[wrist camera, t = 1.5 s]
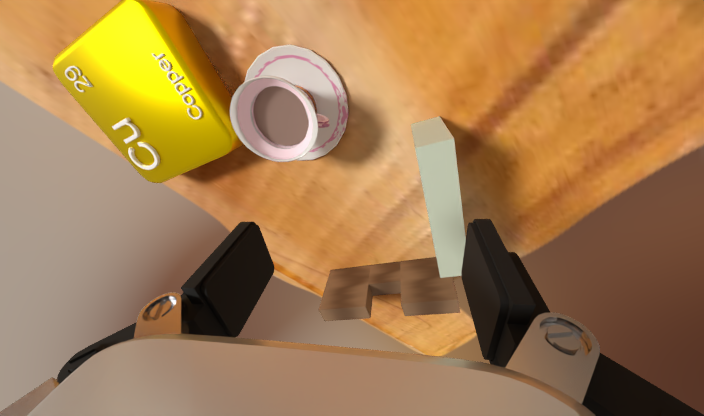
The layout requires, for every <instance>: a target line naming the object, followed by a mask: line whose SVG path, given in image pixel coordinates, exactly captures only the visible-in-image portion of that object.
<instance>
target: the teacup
mask: <svg viewBox="0 0 704 416" xmlns="http://www.w3.org/2000/svg"><path fill="white" fill-rule="evenodd" d="M295 85H297V86H301V87H303V88H304V89H306V90H307V91H308V92H309V93H310V94H311V95H312V96H313V98H314V101H315V103H316V108H317V113H315V108H314V105H313V102H312V100H311V99H310V97H309V96H308V95H307V94H306V93H305V92H304V91H303V90H301V89H300V88H298V87H296V86H295ZM348 114H349V112H348V102H347V94H346V92H345V89H344V87H343V85H342V82H341V80H340V77H339V76H338V74H337V73H336V72H335V71H334V69H333V68H332V67H331V66H330V64H329V63H328V62H327V61H326V60H325V59H323V58H322V57H320V56H319V55H317V54H316V53H314V52H313V51H311V50H310V49H306V48H302V47H298V46H294V45H285V46H278V47H272V48H271V49H269V50H267V51H266V52H264V53H262V54H261V55H259V56H258V57H257V58H256V60H255V61H254V62H253V64H252V65H251V66H250V68H249V69H248V71H247V75H246V78H245V82H244V83H243V84H242V85H240V86H239V88H238V89H237V90H236V92H235V93H234V95H233V97H232V100H231V104H230V119H231V123H232V126H233V128H234V131H235V132H236V134H237V136H238V137H239V139H240V140H241V141H242V142H243V144H244V145H245V146H246V147H247V148H249V149H250V150H251V151H252V152H254V153H255V154H257V155H259V156H261V157H263V158H265V159H268V160H271V161H276V162H290V161H294V160H313V159H316V158H318V157H321V156H324V155H326V154H327V153H328V152H329V151H331V150H332V149H333V148H334V147H335V146H336V145H337V144H338V142H339V141H340V139H341V137H342V135H343V134H344V132H345V129H346V124H347V119H348Z"/></svg>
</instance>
